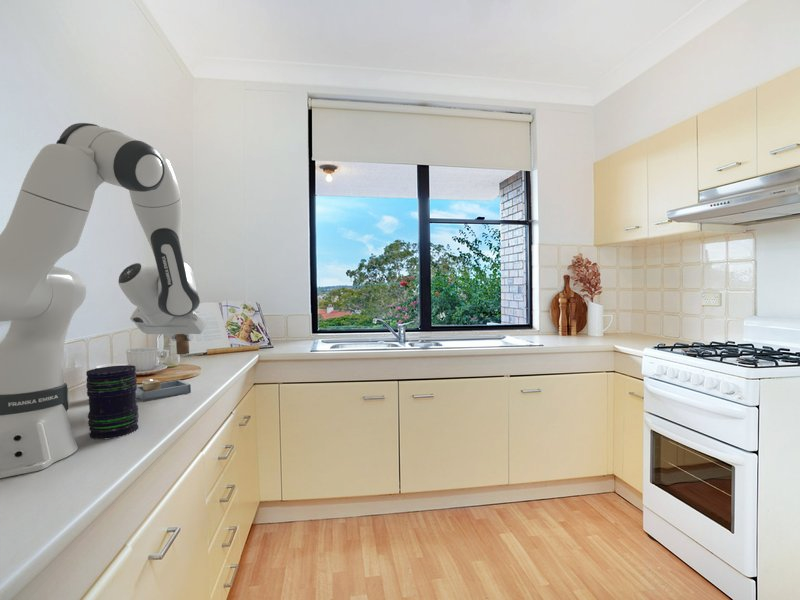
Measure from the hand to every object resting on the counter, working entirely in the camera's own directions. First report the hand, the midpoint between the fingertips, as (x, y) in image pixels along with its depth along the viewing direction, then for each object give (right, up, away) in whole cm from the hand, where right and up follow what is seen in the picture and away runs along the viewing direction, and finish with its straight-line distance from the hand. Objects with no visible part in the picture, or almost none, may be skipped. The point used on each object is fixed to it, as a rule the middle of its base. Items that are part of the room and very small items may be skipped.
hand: (183, 339), depth 137 cm
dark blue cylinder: (+2, -19, -36) cm, 40 cm away
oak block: (-8, -17, -4) cm, 19 cm away
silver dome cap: (-11, -17, 0) cm, 20 cm away
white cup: (-21, -18, -2) cm, 28 cm away
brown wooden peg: (0, -4, 0) cm, 4 cm away
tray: (-7, -17, 0) cm, 19 cm away
